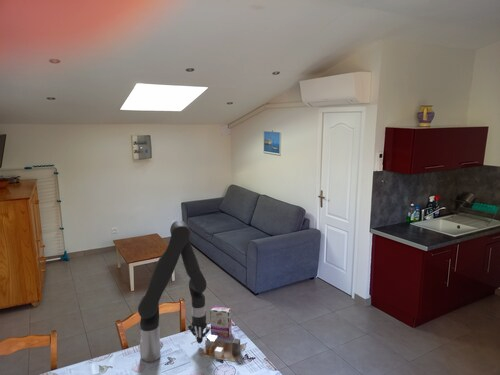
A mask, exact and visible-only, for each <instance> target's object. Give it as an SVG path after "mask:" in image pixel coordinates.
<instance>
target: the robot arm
mask: <svg viewBox="0 0 500 375" xmlns="http://www.w3.org/2000/svg"><path fill="white" fill-rule="evenodd" d="M169 229H170V238H169V242H168V245H167V248H166V249H165V251H164V252H163V253H162V255H161V256H160V257H159V259H158V260H157V262H156V264H155V267H154V269H153V271H152V275H151V276H150V277H151V278H150V281H149V284H148V288H147V291H146V292H145V295H143V296H142V297H141V299H140V301H139V303H138V306H137V312H138V315H139V317H140V321H139V326H140V327H139V328H140V341H139V354H140V356H139V357H140V359H142V360H143V362H146V363H152V362H156V361H158V359H160V357H161V354H162V353H161V339H160V337H161V335H160V305H159V304H160V301H161V298H162V295H163V293H164V291H165V289H166V287H167V286H168V284H169V282H170V280H171V278H172V276H173V274H174V271H175V268H176V266H177V264H178V261H179V259H180V257H181V259H182V263H183V265H184V269H185V272H186V274H187V276H188V277H189V281H188V290H189V293H190V296H191V323H189V325H188V326H187V329H188V330H189V331H190V332H191V333H192V335H193V336H195V337H196V342H197V344H201V343H203V341H204V340H203V338H205V337H206V335H207V334H208V333H209V332H211V326H208V324H207V311H206V310H207V309H206V297H205V294H204V292H205V291H206V289H207V286H208V284H207V281H206V278H205V276H204V274H203V272H202V271H201V268H200V264H199V263H198V259H197V256H196V254H195V251H194V249H193V246H192V243H191V239H190V237H191V230H190V228H189V225H188V224H187V223H186V222H185V221H183V220H182V219H181V220H180V219H179V220H175V221H174V222H173V223H171V225H170V228H169ZM204 330H205V331H204Z"/></svg>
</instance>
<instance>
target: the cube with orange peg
mask: <svg viewBox="0 0 500 375" xmlns="http://www.w3.org/2000/svg"><path fill="white" fill-rule="evenodd" d="M218 337H219V336H215V335H211V334H208V335H207V337H206V338H205V339H204V345H205V346H204V348H205V350H208V351H209V354H211V353H212V351H213V352H214V351H215V349H216V348H217V347H218V341H219V340H218V339H219V338H218Z"/></svg>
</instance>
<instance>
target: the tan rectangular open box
mask: <svg viewBox="0 0 500 375" xmlns="http://www.w3.org/2000/svg"><path fill="white" fill-rule="evenodd" d="M218 347H222V348H223V356H222V357H221V358H218V357H215V351H214V352H213V351H212V353H211V354H209V351H208V350H205V347H203V349H202V351H201V352H200V353H199V356H202V357H207V358H211V359H212V358H213V359H217V360H222V361H226V362H232V363H236V362H237V360H238V358H239V356H241V353H242V351H243V349H244V347H245V345H243V344H241V338H233V341H232V342H231V343H229V342H226V341H219V340H218Z"/></svg>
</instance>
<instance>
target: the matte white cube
mask: <svg viewBox="0 0 500 375" xmlns="http://www.w3.org/2000/svg"><path fill="white" fill-rule="evenodd" d="M222 356H223V348H222V347H217V348H216V349H215V357H218V358H221V357H222Z"/></svg>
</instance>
